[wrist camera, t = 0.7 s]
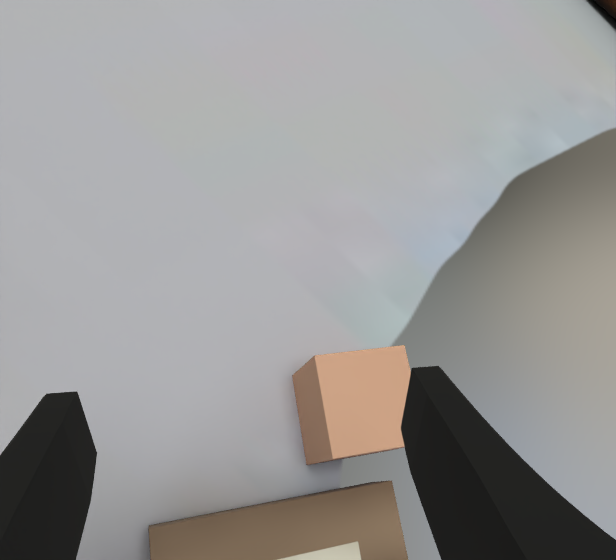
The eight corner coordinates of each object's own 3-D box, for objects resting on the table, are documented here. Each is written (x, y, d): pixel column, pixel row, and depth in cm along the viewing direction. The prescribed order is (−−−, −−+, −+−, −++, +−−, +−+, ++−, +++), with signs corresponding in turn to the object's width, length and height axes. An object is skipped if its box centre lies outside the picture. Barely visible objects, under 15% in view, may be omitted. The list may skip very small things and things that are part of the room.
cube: (388, 450, 32) (427, 442, 27) (306, 465, 30) (332, 458, 26) (370, 366, 34) (404, 345, 29) (292, 376, 32) (314, 355, 28)
